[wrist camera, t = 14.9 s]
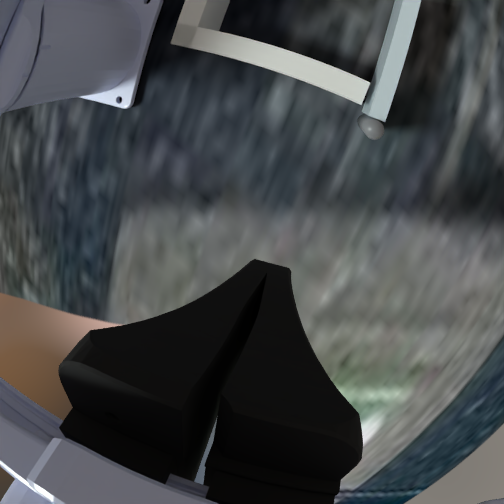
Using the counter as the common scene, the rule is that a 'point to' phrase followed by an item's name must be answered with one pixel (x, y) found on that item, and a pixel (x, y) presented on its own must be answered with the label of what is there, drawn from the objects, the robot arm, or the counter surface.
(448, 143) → the counter surface
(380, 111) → the gate
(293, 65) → the bracket
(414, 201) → the counter surface
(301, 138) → the counter surface
